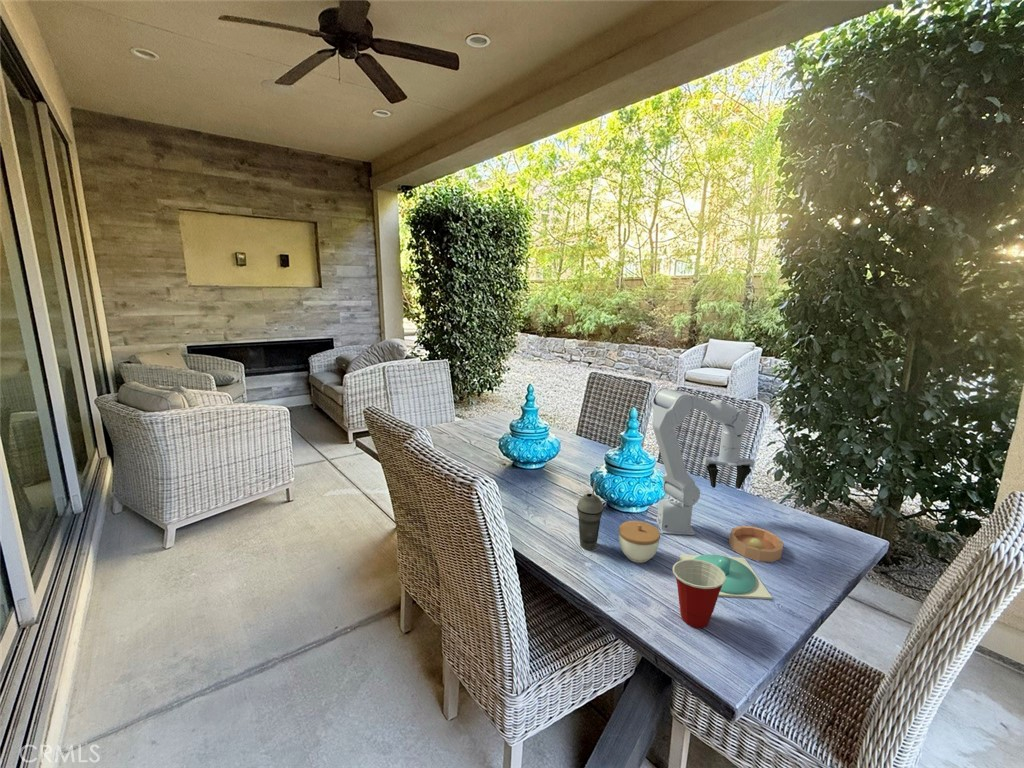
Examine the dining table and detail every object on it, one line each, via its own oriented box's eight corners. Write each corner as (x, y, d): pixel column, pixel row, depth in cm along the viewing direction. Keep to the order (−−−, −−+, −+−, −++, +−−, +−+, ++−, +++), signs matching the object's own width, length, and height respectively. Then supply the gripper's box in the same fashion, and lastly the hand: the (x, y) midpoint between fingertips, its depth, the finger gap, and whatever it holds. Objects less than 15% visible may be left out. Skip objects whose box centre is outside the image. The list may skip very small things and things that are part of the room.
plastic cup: (685, 595, 109) (690, 550, 107) (729, 621, 101) (735, 573, 98) (658, 615, 103) (662, 567, 100) (702, 644, 95) (708, 594, 92)
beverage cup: (585, 535, 135) (588, 472, 130) (606, 545, 130) (610, 480, 125) (569, 545, 130) (572, 479, 125) (591, 556, 125) (594, 488, 120)
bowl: (740, 563, 124) (741, 550, 123) (722, 536, 136) (723, 525, 136) (790, 565, 123) (792, 552, 122) (767, 539, 135) (769, 527, 135)
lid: (699, 591, 110) (701, 575, 109) (684, 555, 125) (686, 540, 124) (765, 596, 109) (768, 580, 108) (742, 559, 123) (744, 545, 122)
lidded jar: (651, 573, 118) (654, 540, 116) (611, 559, 123) (613, 528, 121) (662, 552, 127) (665, 521, 125) (624, 541, 132) (626, 511, 130)
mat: (698, 595, 110) (698, 593, 109) (679, 556, 125) (679, 554, 125) (771, 599, 108) (772, 597, 108) (743, 559, 124) (743, 557, 124)
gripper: (710, 449, 137) (705, 491, 140) (760, 451, 136) (754, 493, 139) (702, 441, 144) (698, 481, 147) (750, 443, 143) (745, 483, 146)
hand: (725, 486), depth 144 cm, fingers open, 7 cm apart
